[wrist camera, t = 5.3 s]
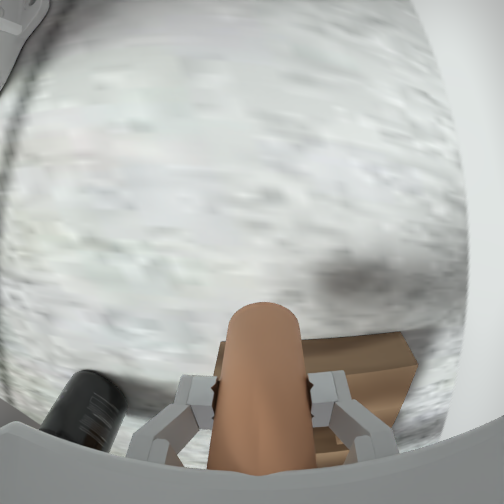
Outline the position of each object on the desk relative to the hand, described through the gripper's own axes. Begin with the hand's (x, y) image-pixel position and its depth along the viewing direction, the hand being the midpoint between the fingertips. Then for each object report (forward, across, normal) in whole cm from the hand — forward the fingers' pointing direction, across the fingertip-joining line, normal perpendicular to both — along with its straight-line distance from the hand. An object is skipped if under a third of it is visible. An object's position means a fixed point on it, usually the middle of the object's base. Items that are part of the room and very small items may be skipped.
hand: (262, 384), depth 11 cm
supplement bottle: (+9, +18, +13) cm, 24 cm away
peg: (+4, 0, 0) cm, 4 cm away
